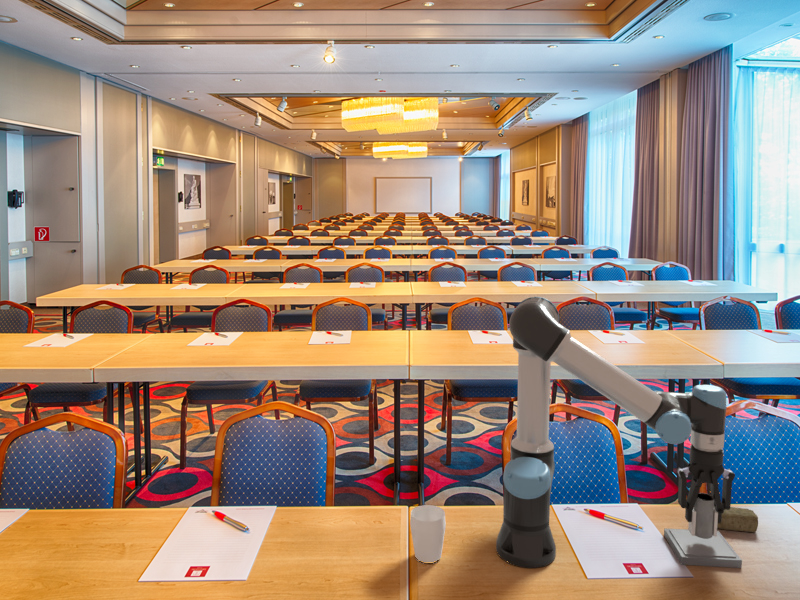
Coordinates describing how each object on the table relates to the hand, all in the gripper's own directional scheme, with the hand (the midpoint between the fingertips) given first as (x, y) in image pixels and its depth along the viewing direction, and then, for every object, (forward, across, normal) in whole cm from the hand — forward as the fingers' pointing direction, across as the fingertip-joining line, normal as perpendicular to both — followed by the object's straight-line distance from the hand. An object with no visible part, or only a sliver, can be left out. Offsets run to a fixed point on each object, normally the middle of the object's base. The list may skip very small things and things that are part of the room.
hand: (702, 533), depth 153 cm
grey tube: (0, 0, 0) cm, 1 cm away
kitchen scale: (+5, 0, 0) cm, 5 cm away
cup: (+5, -70, -10) cm, 71 cm away
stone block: (+5, +13, +14) cm, 20 cm away
